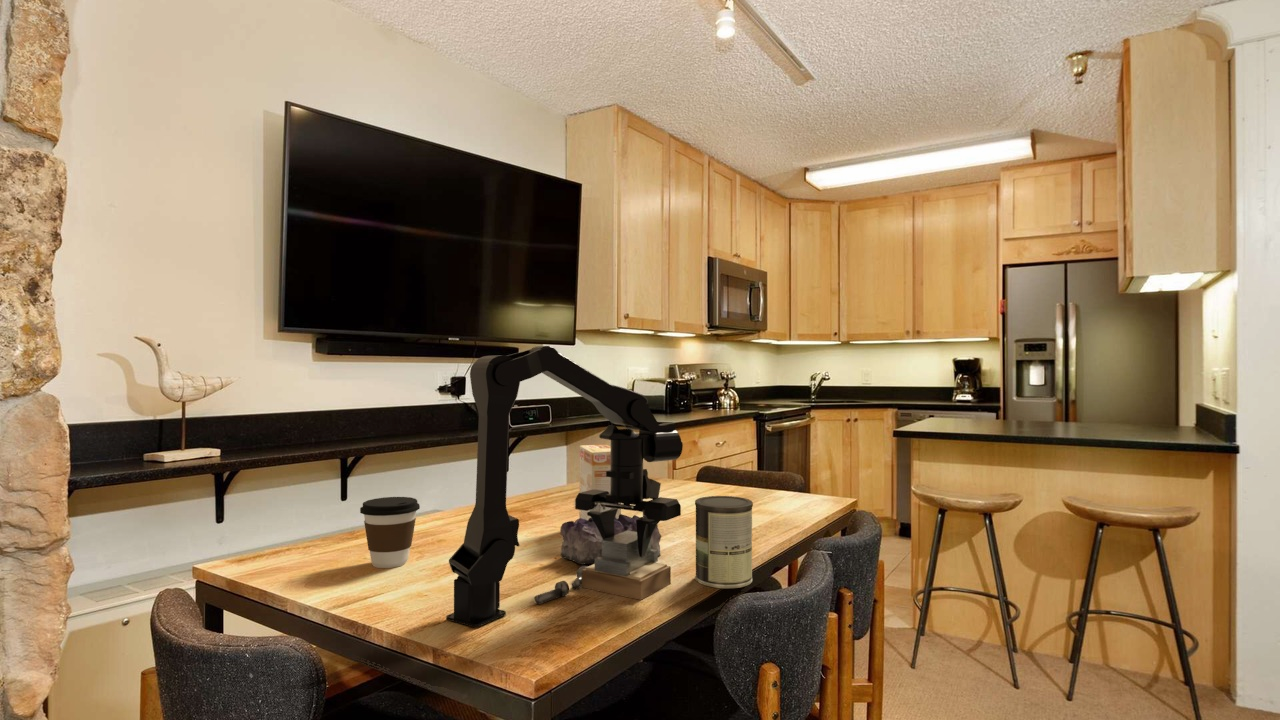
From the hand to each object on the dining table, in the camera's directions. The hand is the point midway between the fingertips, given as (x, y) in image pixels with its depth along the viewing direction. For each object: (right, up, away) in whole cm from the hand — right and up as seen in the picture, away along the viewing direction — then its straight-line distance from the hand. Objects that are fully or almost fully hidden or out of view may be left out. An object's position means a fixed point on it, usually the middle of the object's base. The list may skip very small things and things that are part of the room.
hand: (626, 554), depth 119 cm
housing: (0, -2, 0) cm, 2 cm away
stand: (0, -6, 0) cm, 6 cm away
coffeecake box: (-7, -6, +38) cm, 39 cm away
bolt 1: (-13, -5, -7) cm, 16 cm away
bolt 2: (-8, -6, 0) cm, 10 cm away
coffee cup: (-46, -6, +13) cm, 48 cm away
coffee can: (+17, -6, +3) cm, 19 cm away
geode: (-3, -6, +17) cm, 19 cm away
